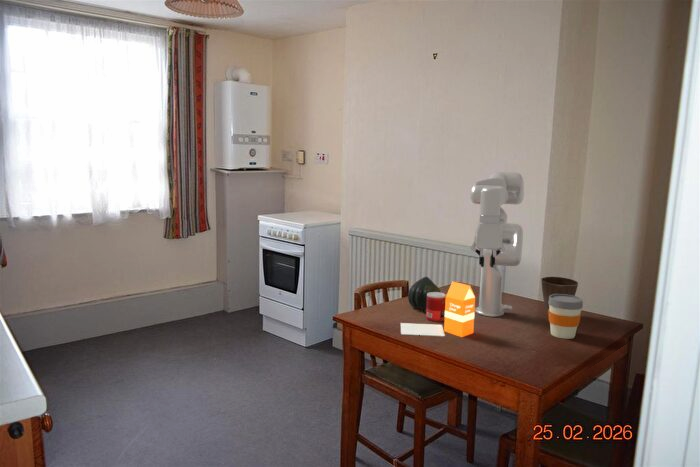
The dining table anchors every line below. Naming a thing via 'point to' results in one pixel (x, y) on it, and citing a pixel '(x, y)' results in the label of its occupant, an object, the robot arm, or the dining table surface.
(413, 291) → the squash
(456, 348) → the dining table surface
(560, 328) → the reusable coffee cup
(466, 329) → the orange juice
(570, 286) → the plant pot
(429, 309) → the canned food
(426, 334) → the mat
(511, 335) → the dining table surface
